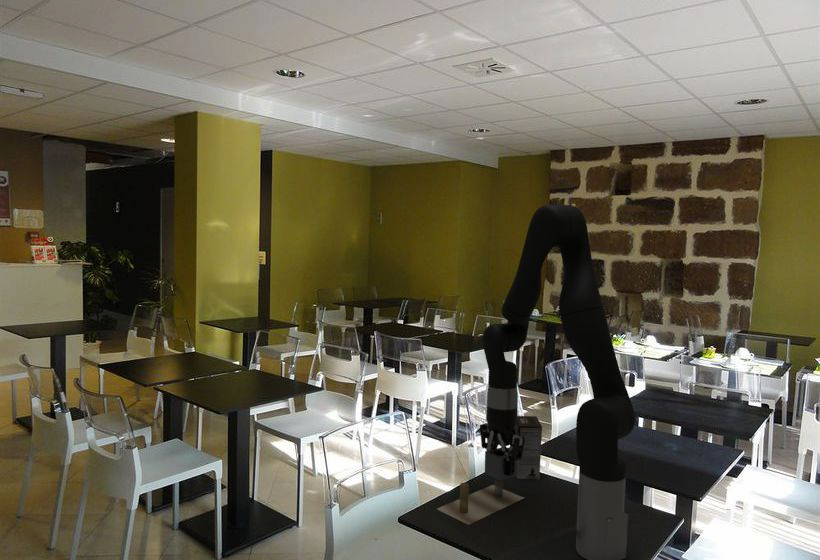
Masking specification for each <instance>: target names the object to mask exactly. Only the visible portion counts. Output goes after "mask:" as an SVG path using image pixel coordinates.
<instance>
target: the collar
mask: <svg viewBox="0 0 820 560" xmlns="http://www.w3.org/2000/svg"><path fill="white" fill-rule="evenodd" d="M509 455H510V456H511V453H510V451H509ZM505 467H506V458H505V454H504V452H503V451H502V448H501V447H497V449H493V450H489V451H486V450H485V451H484V474H486V475H487V476H490V477H492V478H494V479H495V478H496V479H498V480H500V481H501V480H503V481H504V480H507V479H510V478H513V477H514V478H515V477H516V476H517V461H515V472H514V474H513V475H511V476H506V475H505Z"/></svg>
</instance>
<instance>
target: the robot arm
mask: <svg viewBox="0 0 820 560" xmlns="http://www.w3.org/2000/svg"><path fill="white" fill-rule="evenodd" d="M590 244H591V242H590V237H589V230H588V225H587V222H586V218H585V216H584V213H583V212H582V211H581V209H580V208H579V207H577V206H574V205H572V204H545V205H542V206H540V207H538V208H537V209H536V210H535V212H534V213H533V215H532V217H531V219H530V221H529V225H528V230H527V232H526V236H525V241H524V244H523V248H522V251H521V255H520V260H519V263H518V266H517V270H516V274H515V276H514V279H513V281H512V284H511V286H510V288H509V291H508V292H507V295H506V297H505V299H504V302H503V303H502V306H501V309H500V310H501V311H500V312H501V315H502V317H503V318H504V319H505V320H506V321H507V322H504V323H493V324H489V325H488V326H487V327H486V328H485V329H484V331H483V333H482V339H481V340H482V341H481V342H482V346H483V347H482V348H483V351H484V355H485V360H486V364H487V368H488V376H487V377H488V379H487V380H488V381H487V382H488V385H487V393H486V423H481V424H480V425H479V431H480V442H481V448H482V449H485V451H489V450H493V449H497V448H499V447H500V448H502V451H503V452H504V454H505V458H506V467H505V475H506V476H511V475H513V474H514V472H515V461H517V460H520V459H522V454H523V448H524V442H525V438H524V437H523V436H522V437H519V436H518V435H516V432H515V425H516V424H517V416H518V411H519V409H518V407H519V405H518V403H519V399H518V398H519V395H518V367H517V365H516V363H514V362H513V361H508V360H506V356H505V353H511V352H516V351H518V350H520V349H521V348H523V346H524V345H525V343H526V340H527V337H528V331H529V325H530V317H531V316H532V314H533V313H534V310H535V308H536V306H537V305H538V302H539V300H540V296H541V293H542V286H543V285H542V270H543V266H544V263H545V260H546V259H547V257H548V255H549V253H550V251H552V249H553V248H558V249H559V252H560V256H561V260H562V264H563V281H562V284H561V285H562V286H561V290H560V294H559V295H560V296H559V302H558V310H559V311H558V313H559V317H560V322H561V326H562V330H563V333H564V336H565V340H566V342H567V344H568V345H569V347H570V349H571V350H572V352H573V353H574V355H575V357H577V359H578V360H579V361H580V363H581V364H582V366H583V368H584V369H585V371H586V374H587V376H588V379H589V382H590V385H591V386H590V387H591V390H592V396H593V398H592V399H588V400H586V401H584V402H583V403H582V404H581V406H580V407H579V408H578V412H577V416H576V425H575V426H576V429H575V444H576V445H575V446H576V447H575V451H576V456H577V457H576V458H577V459H578V464H579V471H578V472H579V473H578V491H577V492H578V493H577V509H576V510H577V513H576V533H575V534H576V537H575V550H576V553H577V554H578V555H579V556H580V557H581V558H583V559H586V560H624V559H626V558H627V546H628V543H627V540H628V527H629V526H628V525H629V514H628V513H627V512H625V497H626V496H625V495H626V478H627V477H626V476H627V464H626V462H625V460H624V459H623V458H622V457H619V450H618V449H619V440H620V439H623V438H625V437H627V436H629V435H630V434H631V433H632V431H633V430H634V428H635V424H636V414H635V410H634V406H633V403H632V400H631V397H630V396H629V392H628V390H627V387H626V384H625V381H624V378H623V376H622V374H621V371H620V367H619V363H618V360H617V359H618V358H617V354H616V351H615V347H614V345H613V341H612V337H611V333H610V330H609V328H610V327H609V324H608V323H609V322H608V319H607V316H606V310H605V308H604V303H603V300H602V298H601V294H600V289H599V285H598V280H597V277H596V273H595V267H594V265H593V257H592V251H591V245H590ZM509 451H510V453H511V456H510V455H509ZM517 452H518V453H517Z"/></svg>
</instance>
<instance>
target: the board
mask: <svg viewBox="0 0 820 560" xmlns="http://www.w3.org/2000/svg"><path fill="white" fill-rule="evenodd" d="M469 491H470V484H469V483H468V482H461V483H460V486H459V499H456V500H454V501H452V502H449V503H447V504H445V505H442V506H440V507H438V508H436V510H438V511H439V512H441V513H443V514H445V515H448V516H449V517H452V518H454V519H455V520H457V521H460V522H461V523H464V524H466V525H472V524H474V523H475V522H477V521H479V520H482V519H484V518H486V517H488V516H490V515H492V514H494V513H496V512H499V511H500V510H503V509H504V508H507V507H509V506H512V505H513V504H516V503H517V502H519V501H522V500H523V499H525V497H524V496H521V495H520V494H519V495H518V494H517V493H514V492H511V491H510V490H506V489H504V480H501V481H500V480H498V479H496V478H494V484H491V485H489V486H486V487H484V488H482V489H479V490H477V491H475V492H472V493H470V492H469Z"/></svg>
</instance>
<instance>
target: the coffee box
mask: <svg viewBox="0 0 820 560" xmlns="http://www.w3.org/2000/svg"><path fill="white" fill-rule="evenodd" d="M515 432H516V435H518V436H519V437H522V436H523V437H524V438H525V442H524V448H523V454H522V459H520V460H517V476H515V477H516V479H518V480H519V479H521V480H541V479H540V477H541V458H542V456H541V455H542V437H543V435H542V433H543V426H542V423H540V421H539V419H538V417H537V416H536V415H517V424H516V425H515ZM517 453H518V452H517Z"/></svg>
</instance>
